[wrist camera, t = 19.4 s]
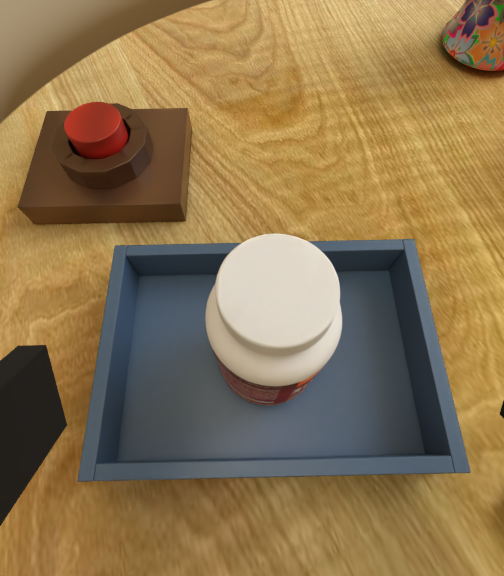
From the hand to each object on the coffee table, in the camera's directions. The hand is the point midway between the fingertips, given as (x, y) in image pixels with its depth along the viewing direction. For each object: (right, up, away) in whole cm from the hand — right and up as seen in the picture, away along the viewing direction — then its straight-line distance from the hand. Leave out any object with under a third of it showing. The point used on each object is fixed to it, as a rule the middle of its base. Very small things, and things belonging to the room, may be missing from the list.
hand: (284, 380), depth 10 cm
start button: (-12, +14, +17) cm, 25 cm away
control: (-12, +12, +20) cm, 26 cm away
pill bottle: (0, -2, +13) cm, 13 cm away
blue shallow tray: (0, -2, +14) cm, 14 cm away
